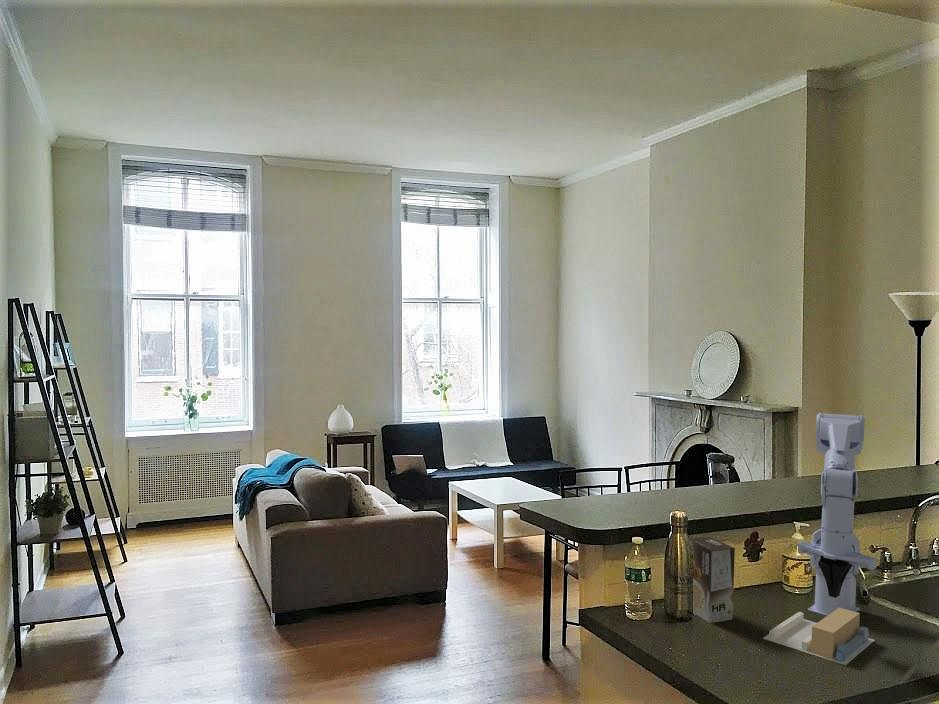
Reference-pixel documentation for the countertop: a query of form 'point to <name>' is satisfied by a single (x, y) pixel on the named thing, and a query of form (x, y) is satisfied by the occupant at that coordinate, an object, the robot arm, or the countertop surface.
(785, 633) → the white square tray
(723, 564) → the coffee box
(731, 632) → the countertop surface
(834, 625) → the tan bar
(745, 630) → the countertop surface
